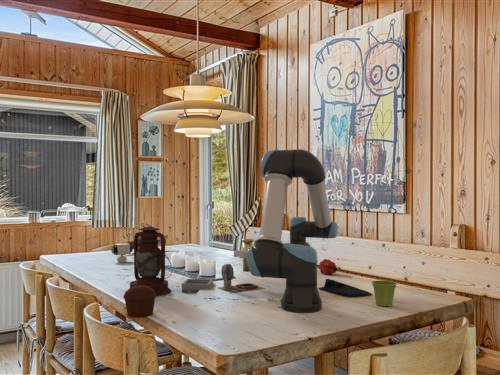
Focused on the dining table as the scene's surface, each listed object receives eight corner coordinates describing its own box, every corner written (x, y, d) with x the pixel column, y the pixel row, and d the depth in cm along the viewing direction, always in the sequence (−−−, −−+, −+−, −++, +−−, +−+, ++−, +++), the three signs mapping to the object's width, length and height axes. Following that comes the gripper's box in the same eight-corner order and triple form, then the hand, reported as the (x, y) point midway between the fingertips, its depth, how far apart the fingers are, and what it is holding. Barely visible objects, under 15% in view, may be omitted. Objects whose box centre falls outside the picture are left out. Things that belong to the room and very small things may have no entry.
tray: (209, 292, 210) (209, 284, 210) (181, 292, 211) (181, 284, 211) (212, 286, 222) (212, 279, 222) (186, 286, 223) (186, 278, 223)
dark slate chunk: (345, 300, 198) (345, 288, 198) (316, 289, 218) (316, 279, 218) (375, 296, 205) (375, 285, 205) (344, 286, 225) (344, 276, 225)
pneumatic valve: (111, 262, 295) (111, 242, 295) (129, 260, 302) (129, 241, 302) (114, 263, 291) (114, 243, 291) (133, 261, 297) (133, 242, 297)
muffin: (159, 310, 180) (159, 283, 180) (154, 318, 169) (154, 289, 169) (126, 310, 180) (126, 283, 180) (119, 318, 169) (119, 289, 169)
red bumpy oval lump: (320, 275, 261) (335, 282, 251) (311, 267, 256) (326, 273, 246) (328, 261, 263) (344, 268, 252) (320, 253, 258) (335, 259, 248)
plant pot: (377, 301, 195) (377, 279, 195) (400, 304, 189) (400, 282, 189) (367, 305, 187) (367, 282, 187) (390, 309, 181) (390, 285, 181)
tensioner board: (265, 292, 211) (265, 263, 211) (231, 296, 202) (231, 266, 202) (249, 286, 222) (249, 259, 222) (216, 291, 213) (216, 262, 213)
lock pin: (253, 272, 211) (253, 239, 211) (241, 271, 211) (241, 239, 212) (253, 270, 216) (253, 238, 217) (241, 270, 217) (242, 238, 217)
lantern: (180, 290, 214) (180, 222, 214) (150, 299, 198) (150, 225, 198) (147, 286, 223) (147, 220, 223) (116, 294, 207) (116, 223, 207)
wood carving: (171, 250, 349) (171, 235, 349) (126, 255, 326) (126, 238, 326) (164, 249, 356) (164, 234, 356) (120, 253, 333) (120, 237, 333)
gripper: (292, 262, 216) (247, 265, 204) (270, 257, 231) (227, 261, 218) (292, 245, 217) (247, 247, 204) (270, 241, 231) (227, 244, 218)
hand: (237, 254), depth 211 cm, fingers closed on lock pin, 4 cm apart
